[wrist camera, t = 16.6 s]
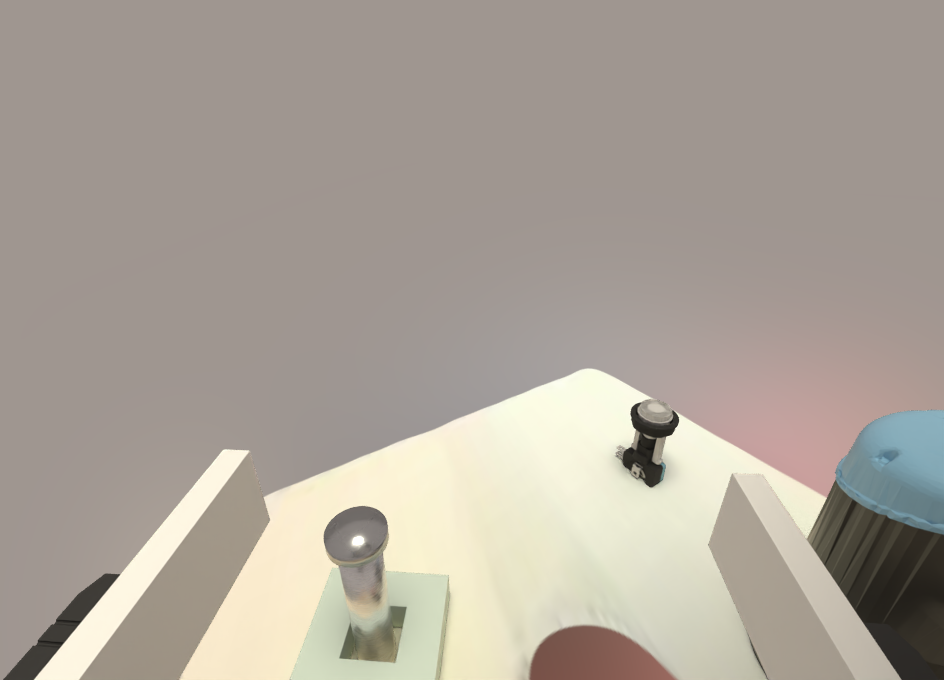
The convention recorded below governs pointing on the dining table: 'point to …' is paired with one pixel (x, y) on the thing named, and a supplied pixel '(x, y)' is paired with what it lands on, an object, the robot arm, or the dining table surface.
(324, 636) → the socket block
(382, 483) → the dining table surface
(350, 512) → the steel pin
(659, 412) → the push button
